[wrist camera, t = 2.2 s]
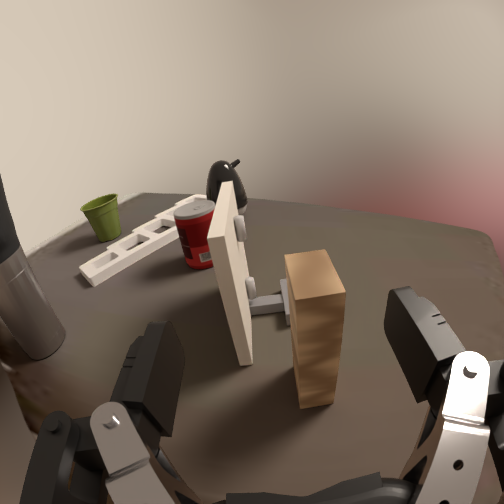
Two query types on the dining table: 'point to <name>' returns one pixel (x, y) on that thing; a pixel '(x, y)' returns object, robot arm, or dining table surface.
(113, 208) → the plant pot
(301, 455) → the dining table surface
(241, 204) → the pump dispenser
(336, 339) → the tall wooden block
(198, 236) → the canned food
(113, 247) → the holder
